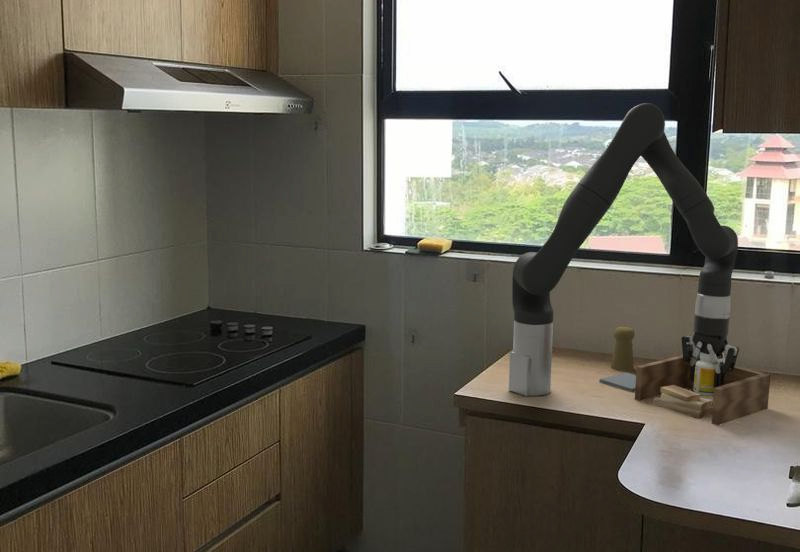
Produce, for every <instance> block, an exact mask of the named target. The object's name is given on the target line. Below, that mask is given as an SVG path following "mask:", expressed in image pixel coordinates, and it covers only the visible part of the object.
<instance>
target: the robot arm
mask: <svg viewBox="0 0 800 552" xmlns="http://www.w3.org/2000/svg"><path fill="white" fill-rule="evenodd" d="M624 116H625V117H623V120H622V121H621V124H620V125H619V127H618V129H617V131H616V132H615V134H614V135H613V138H612V139H611V140H610V142H609V144H608V145H607V147H606V148H605V149H604V151H603V152H602V153H601V155H600V156H599V157H598V158H597V159H596V161H594V163H592V165H591V166H590V167H589V169H588V170H587V172H585V174H584V175H583V176H582V178H581V179H579V181H578V183H577V184H576V186H575V187H574V188H573V189H572V191H571V192H570V194H569V195H568V197H567V198H566V200H565V202H564V204H563V206H562V209H561V210H560V213H559V215H558V219H557V221H556V224H555V226H554V229H553V230H552V232H551V234H550V235H549V237H548V239H547V240H546V242H544V244H543V245H542V246H541V247H540V249H539V250H538V251H537V252H535V251H534V252H533V251H531V252H529V251H528V252H526V253H523V254H522V255H520V256H519V257H518V258H517V259H516V261H515V263H514V265H513V268H512V278H511V280H512V283H511V284H512V286H511V288H512V289H511V290H512V295H511V300H512V301H511V302H512V309H513V340H512V341H513V342H512V343H513V344H512V351H510V353H509V367H508V368H509V373H508V391H510V392H514V393H517V394H519V395H521V396H524V397H528V396H535V397H536V396H544V395H547V394H549V393H550V392H551V385H552V384H551V382H552V359H553V358H552V357H553V356H552V355H553V354H552V353H553V335H554V333H553V331H554V310H553V309H554V308H553V306H552V302H551V292H552V291H553V290H554V289H555V288H556V286H557V285H558V283H559V282H560V280H561V278H562V277H563V275H564V273H565V271H566V270H567V268H568V266H569V264H570V263H571V262H572V259H573V258H574V256H575V255H576V253H577V252H578V250H579V249H580V248H581V246H582V245H583V244H584V243H585V241H586V240H587V239H588V238H589V236H590V234H592V232H593V231H594V230H595V228H596V227H597V225H598V224H599V222H601V220H602V219H603V217H604V216H605V215H606V213H607V212H608V211H609V210H610V208H611V206H612V205H613V203H614V202H615V201H616V199H617V197H618V195H619V194H620V192H621V189H622V188H623V186H624V184H625V182H626V179H627V178H628V175H629V174H630V172H631V170H632V168H633V167H634V165H635V164H636V163H637V161H638V160H639V158H640V157H641V158H642V159H643V160H644V161H645V162H646V163H647V164H648V165H649V168H651V170H652V171H653V172H654V173H655V175H656V177H657V178H658V180H659V181H660V183H661V184H662V186H663V188H664V189H665V192H666V193H667V195H668V196H669V198H670V199H671V201H672V202H673V204H674V206H675V207H676V209H677V210H678V213H680V215H681V216H682V218H683V219H684V220H685V222H686V224H687V227H688V229H689V232H690V234H691V237H692V239H693V242H694V243H695V245H696V247H697V249H698V250H699V251H700V253H701V254H703V256H705V259H704V265H703V268H702V269H701V270H700V273H699V276H698V284H697V285H698V286H697V294H696V295H697V296H696V299H695V306H694V307H695V308H694V321H693V332H694V333H693V335H685V336H682V337H681V340H680V341H681V349H682V350H681V351H682V355H683V360H684V361H685V362H688V363H689V364H690V366H691V367H690V379H691V381H692V382H694V376H695V366H696V362H697V361H698V360H700V357H699V356H700V352H702V353H705V354H709V355H710V357H711V360H712V363H713V364H714V367H715V370H716V373H715V376H714V388H716V387H719V386H722V385H724V376H725V373H726V372H730V371H733V370H734V366H736V362H737V358H738V355H739V352H740V347H739V346H733V345H731V344H729V343H728V340H727V337H728V335H729V328H730V327H729V326H730V314H731V289H732V278H733V277H732V276H733V270H734V268H735V264H736V259H737V254H738V249H739V239H738V235H737V232H736V231H735V230H734V229H733V228H731V227H730V226H728V225H721V224H720V222H719V220H718V219H717V216H716V215H715V207H714V204H713V202H712V200H711V199H710V198H709V196H708V194H707V193H706V191H705V190H704V188H703V187H702V186H701V184H700V182H699V181H698V180H697V179H696V177H695V176H694V174H692V172H690V170H689V169H688V168H687V167H686V166H685V165H684V164H683V162H682V161H681V160H680V158H679V157H678V155H676V153H675V151H674V149H673V147H672V146H671V144H670V142H669V140H668V136H667V135H666V133H665V127H666V121H665V119H666V118H665V116H664V113H663V111H662V110H661V108H660V107H658V106H657V105H655V104H653V103H649V102H645V103H640V104H638V105H636V106H634V107H632V108H631V109H630V110H629V111H628V112H627V113H626V115H624ZM693 345H694V346H695V349H694V346H693ZM724 351H725V354H724ZM725 355H726V356H725ZM717 357H718V359H717Z"/></svg>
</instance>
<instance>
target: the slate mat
mask: <svg viewBox="0 0 800 552" xmlns="http://www.w3.org/2000/svg"><path fill="white" fill-rule="evenodd" d="M599 383H601V384H605V385H608V386H612V387H615V388H617V389H621V390H624V391H628V392H630V393H633V392H634V393H635V385H636V374H632V373H628V372H627V371H624V372H622V373H619V374H618V373H617V374H614V375H610V376H606V377H602V378H599Z"/></svg>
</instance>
